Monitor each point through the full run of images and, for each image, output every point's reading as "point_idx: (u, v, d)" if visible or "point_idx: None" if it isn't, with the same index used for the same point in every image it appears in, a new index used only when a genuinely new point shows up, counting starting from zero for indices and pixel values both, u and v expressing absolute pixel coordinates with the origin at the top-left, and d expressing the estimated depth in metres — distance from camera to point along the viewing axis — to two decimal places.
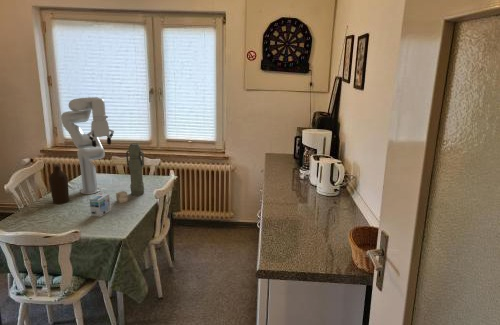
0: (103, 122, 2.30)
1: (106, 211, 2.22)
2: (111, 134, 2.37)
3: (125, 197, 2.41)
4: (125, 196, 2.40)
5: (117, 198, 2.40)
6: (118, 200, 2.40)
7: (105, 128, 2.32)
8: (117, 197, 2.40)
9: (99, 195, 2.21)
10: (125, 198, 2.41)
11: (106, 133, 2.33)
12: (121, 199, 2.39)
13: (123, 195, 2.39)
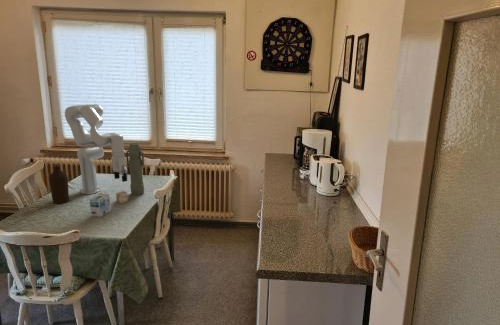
0: None
1: (106, 211, 2.22)
2: None
3: (125, 197, 2.41)
4: (125, 196, 2.40)
5: (117, 198, 2.40)
6: (118, 200, 2.40)
7: None
8: (117, 197, 2.40)
9: (99, 195, 2.21)
10: (125, 198, 2.41)
11: None
12: (121, 199, 2.39)
13: (123, 195, 2.39)
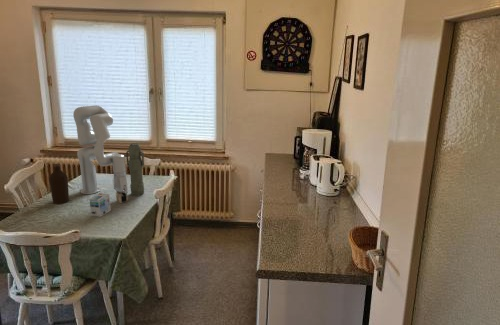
0: None
1: (106, 211, 2.22)
2: None
3: None
4: None
5: (117, 198, 2.40)
6: (118, 200, 2.40)
7: None
8: (117, 197, 2.40)
9: (99, 195, 2.21)
10: None
11: None
12: (121, 199, 2.39)
13: None
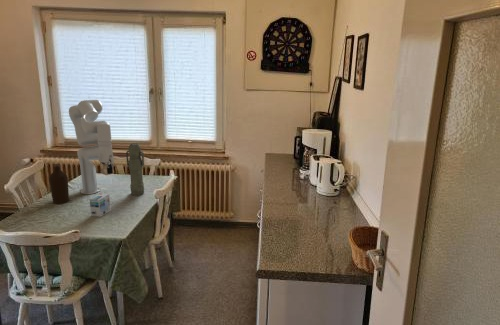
0: None
1: (106, 211, 2.22)
2: None
3: None
4: None
5: (102, 170, 2.23)
6: (104, 172, 2.23)
7: None
8: (102, 169, 2.23)
9: (99, 195, 2.21)
10: None
11: None
12: None
13: None
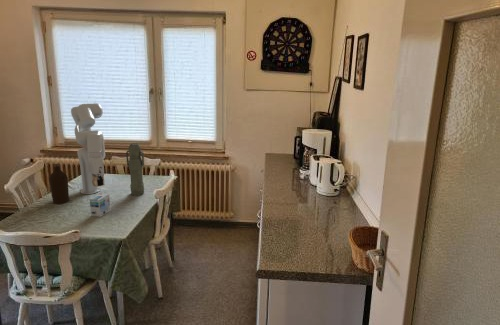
0: None
1: (106, 211, 2.22)
2: None
3: None
4: None
5: (93, 182, 2.16)
6: (94, 184, 2.15)
7: None
8: (92, 180, 2.16)
9: (99, 195, 2.21)
10: None
11: None
12: (97, 183, 2.14)
13: None
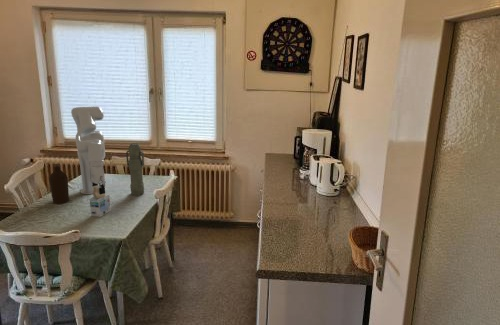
0: None
1: (106, 211, 2.22)
2: None
3: None
4: None
5: (94, 193, 2.18)
6: (95, 195, 2.17)
7: None
8: (93, 191, 2.18)
9: None
10: None
11: None
12: (98, 194, 2.16)
13: None
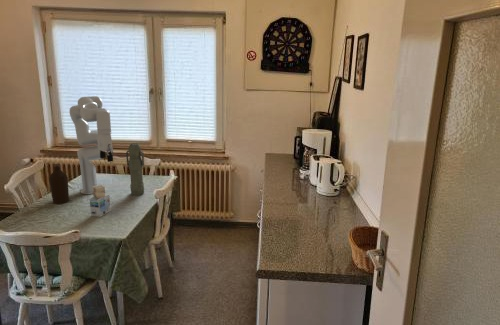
0: None
1: (106, 211, 2.22)
2: None
3: (102, 192, 2.18)
4: (102, 191, 2.18)
5: (94, 193, 2.18)
6: (95, 195, 2.17)
7: None
8: (93, 191, 2.18)
9: None
10: (102, 193, 2.18)
11: None
12: (98, 194, 2.16)
13: (100, 190, 2.16)
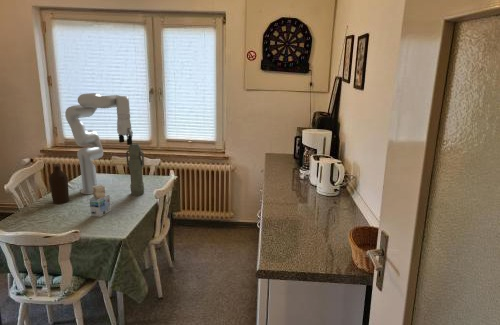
0: None
1: (106, 211, 2.22)
2: None
3: (102, 192, 2.18)
4: (102, 191, 2.18)
5: (94, 193, 2.18)
6: (95, 195, 2.17)
7: None
8: (93, 191, 2.18)
9: None
10: (102, 193, 2.18)
11: None
12: (98, 194, 2.16)
13: (100, 190, 2.16)
